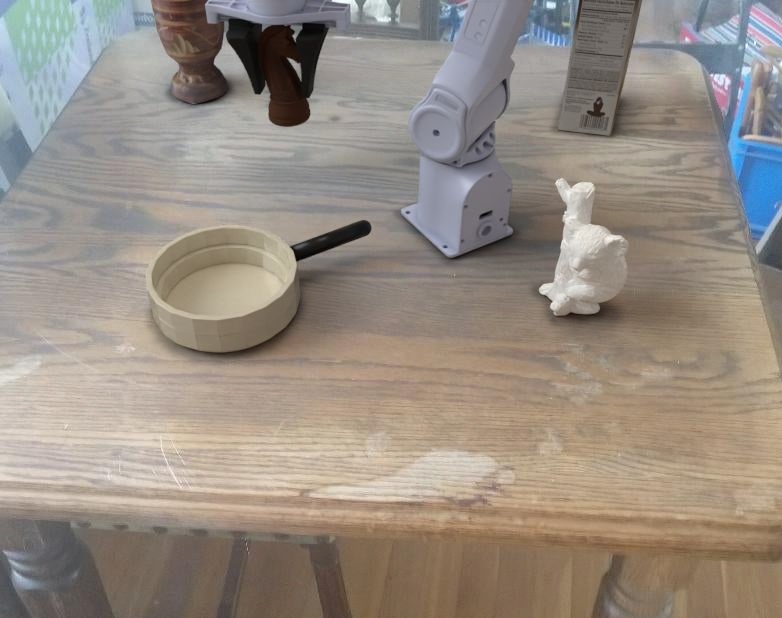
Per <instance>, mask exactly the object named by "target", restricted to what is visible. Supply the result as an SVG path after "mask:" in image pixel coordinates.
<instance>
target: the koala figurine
mask: <svg viewBox="0 0 782 618" xmlns="http://www.w3.org/2000/svg"><path fill="white" fill-rule="evenodd" d="M554 184H555V186H556V189H557V192H558V195H559V196H560V197H561V199H562V202H563V203H565V205H566V206H567V207H566V210H564V211H563V213H564V214H562V223H564V226H563V228H562V230H563V231H562V240H561V243H560V247H559V249H560V254H559V257H558V260H557V264H556V266H555V270H554V279H553V282H549V283H543V284H541V286H540V287H539V288H538V291H539V294H540V295H543V296H546V297H547V298H548V299H549V300H550V301H551V303H550V305H549V309H550V310H551V311H553V315H554V316H557V317H558V316H559V317H560V316H567V315H568V314H570V313H573V314H576V315H577V314H578V315H592V314H593V315H594V314H597V313H598V312H600V310H601V306H600V303H604V302H605V303H606V302H607V301H610V300H612V299H613V298H615V297H616V296H618V295H619V293H620V292H621V291H622V289H623V287H624V286H625V284H626V281H627V278H628V263H627V261H626V257H625V255H627V252H628V251H629V247H630V244H629V241H628V240H627V239H626V238H624V236H622V235H619V234H618V235H615V234H612V232H610V230H609V229H608V228H606V227H605V226H602V225H599V224H593V223H591V222H592V221H591V220H592V213H593V206H594V202H595V197H596V186H595V185H594V183H593V182H590V181H586V182H585V181H580V182H577V183H575V184H574V185H573V186H572V187H571V185H569V183H568V181H567V180H566V178H564V177H561V178H558V179H556V181H555V183H554Z"/></svg>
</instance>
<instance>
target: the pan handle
mask: <svg viewBox="0 0 782 618" xmlns="http://www.w3.org/2000/svg"><path fill="white" fill-rule="evenodd" d="M372 228H373V227H372V224H371V222H370V221H368V220H367V219H360V220H358V221H356V222H355V221H354V222H352V223H349V224H347V225H344V226H342V227H339V228H337V229H333V230H331V231H328V232H325V233H322V234H320V235H317V236H314V237H312V238H309V239H306V240H303V241H301V242H298V243H295V244H293V245H289V247H290V248H291V249H292V250H293V252H294V255H295V259H296V262H297V263H298V262H300V261H302V260H306V259H309V258H311V257H314V256H317V255H319V254H321V253H324V252H327V251H330V250H332V249H335V248H337V247H341V246H343V245H345V244H346V245H347V244H349V243H351V242H354V241H357V240H359V239H362V238H365V237H367V236H369V235H370V234H371V232H372Z"/></svg>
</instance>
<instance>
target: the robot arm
mask: <svg viewBox="0 0 782 618" xmlns="http://www.w3.org/2000/svg"><path fill="white" fill-rule="evenodd" d="M535 1H536V0H469V1H468V5H467V8H466V10H465V12H464V16H463V19H462V21H461V24H460V26H459V29H458V33H457V35H456V38H455V41H454V44H453V46H452V49H451V51H450V53H449V55H448V56H447V58H446V59H445V61H444V62H443V64H442V65H441V67H440V69H439V70H438V71H437V73H436V74H435V76H434V78H433V80H432V81H431V83H430V86H429V89H428V92H427V93H426V95H425V96H424V97H423V98H422V99H421V100H419V102H417V103H416V104H415V105H414V107H413V108H412V110H411V111H410V112H409V113H410V114H409V116H408V123H407V124H408V126H407V127H408V133H409V136H410V139H411V141H412V143H413V144H414V147H416V149H417V150H418V151H419V167H418V170H419V171H418V192H417V202H416V203H413V204H411V205H407V206H405V207H402V208H401V209H400V214H401V216H403V217H404V218H405V219H406V220H407V222H409V223H411V225H412V226H413V227H414V228H416V229H417V230H418V231H419V232H420V233H421V234H422V235H423V236H424V237H425V238H426V239H428V241H430V243H432V244H433V245H434V246H435V247H436V248H437V249H438V251H439V250H440V252H442V253H443V254H444V255H445V256H446V257H447V258H449V259H453V258H456V257H458V256H462V255H464V254H466V253H468V252H471V251H474V250H476V249H479V248H481V247H483V246H487V245H488V244H491V243H494V242H496V241H500V240H501V239H504V238H506V237H509V236H511V235H513V232H514V229H513V228H512V227H511V226H510V225H508V223H509V217H510V216H509V215H510V208H511V200H512V195H513V194H512V193H513V180H512V178H511V176H510V174H509V173H508V172H507V171H506V170H505V169H504V168H503V165H501V163H500V161H499V159H498V156H497V154H496V153H497V152H496V131H495V129H496V120H498V119H499V118H500V117H501V116H503V114H504V113H505V112H506V111H507V109H508V107H509V104H510V100H511V86H510V85H511V75H512V73H513V72H514V68H515V66H516V63H515V61H514V59H513V58H512V55H513V54H514V50H515V48H516V46H517V43H518V41H519V39H520V36H521V34H522V32H523V29H524V27H525V25H526V23H527V20H528V18H529V15H530V13H531V10H532V9H533V6H534V4H535ZM205 8H206V15H207V22H208V23H210V24H217V23H218V22H219V21H224V22H227V24H228V27H227V32H225V38H226V41H227V43H228V44H229V46H230V47H231V48H232V49H233V51H234V52H235V54H236V56H237V57H238V58H239V60H240V62H241V64H242V66H243V67H244V70H245V72H246V74H247V77H248V79H249V81H250V84H251V87H252V90H253V93H254V95H258V96H259V95H261V94H262V93H263V91H264V90H265V88H266V86H267V83H266V80H265V76H264V73H263V70H262V67H261V63H260V60H259V55H258V40H259V37H260V35H261V33H262V32H263V25H266V26H271V25H285V26H287V25H291V26H296V27H301V29H300V30H299V32H298V34H297V35H296V37H295V38H294V40H295V42H296V46H297V50H298V55H299V60H300V63H299V65H300V80H301V89H302V96H303V98H307V99H310V98H311V96H312V94H313V92H314V90H315V80H316V79H315V78H316V73H317V66H318V63H319V58H320V55H321V52H322V49H323V45H324V43H325V40H326V37H327V35H328V32H329V30H330V28H331V29H332V28H333V29H335V30H336V32H344V33H345V32H347V31H348V29H349V27H350V25H351V23H352V19H351V18H352V17H351V13H352V12H351V3H347V2H345V3H344V2H337V1H331V0H208V1H207V3H206V4H205Z"/></svg>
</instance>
